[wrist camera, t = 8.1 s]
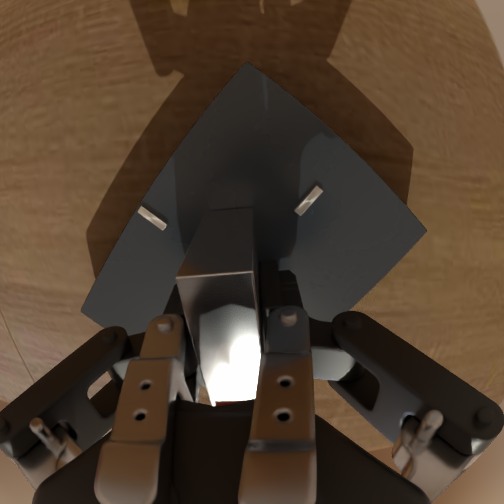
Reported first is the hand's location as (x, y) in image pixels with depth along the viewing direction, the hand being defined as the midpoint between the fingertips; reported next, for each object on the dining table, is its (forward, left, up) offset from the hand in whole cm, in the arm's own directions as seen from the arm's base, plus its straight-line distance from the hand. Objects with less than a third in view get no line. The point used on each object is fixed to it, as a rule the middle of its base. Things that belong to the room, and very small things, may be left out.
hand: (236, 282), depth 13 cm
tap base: (0, 0, -3) cm, 3 cm away
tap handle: (0, 0, 0) cm, 0 cm away
